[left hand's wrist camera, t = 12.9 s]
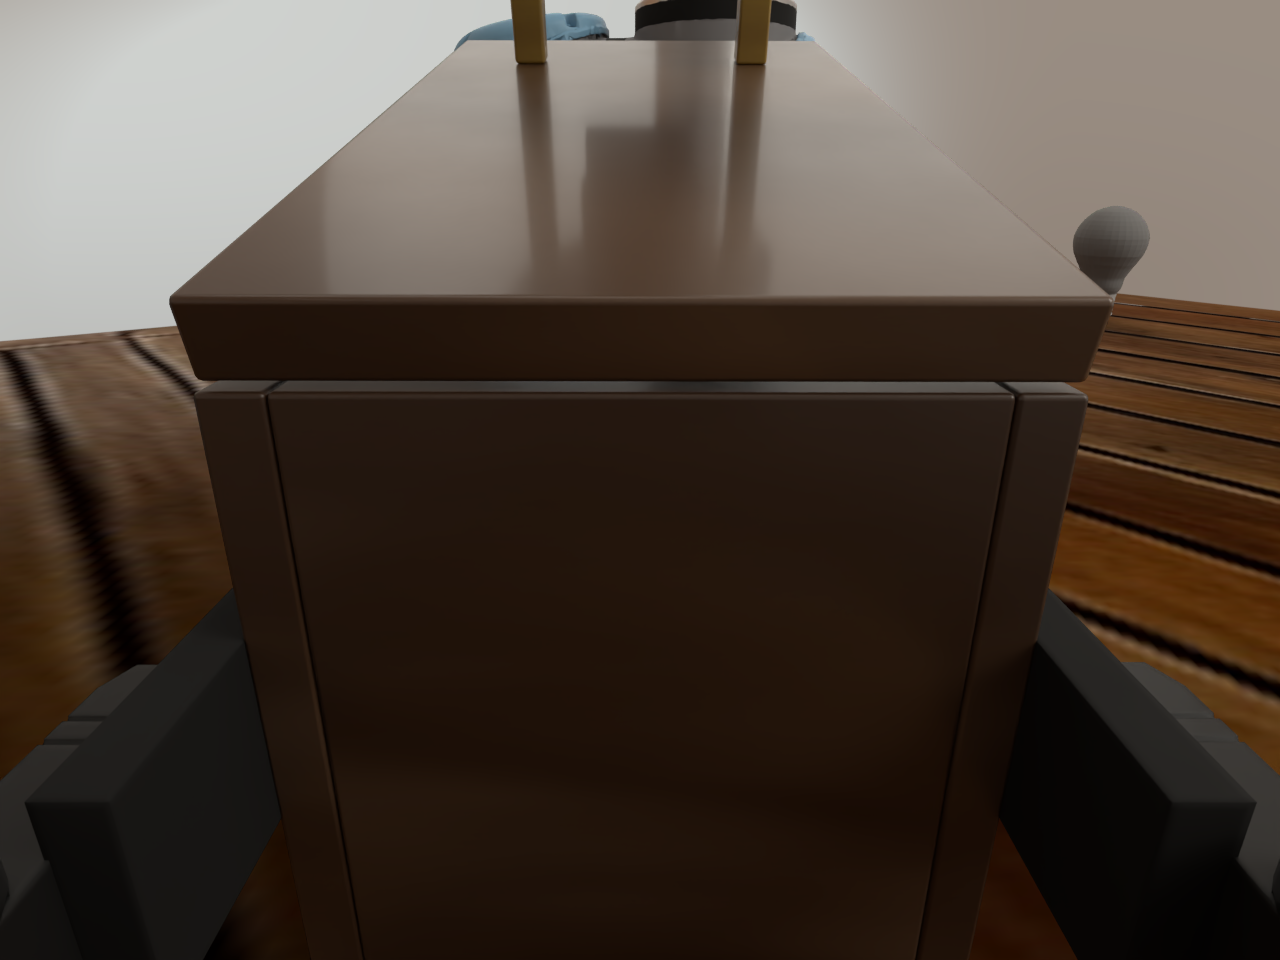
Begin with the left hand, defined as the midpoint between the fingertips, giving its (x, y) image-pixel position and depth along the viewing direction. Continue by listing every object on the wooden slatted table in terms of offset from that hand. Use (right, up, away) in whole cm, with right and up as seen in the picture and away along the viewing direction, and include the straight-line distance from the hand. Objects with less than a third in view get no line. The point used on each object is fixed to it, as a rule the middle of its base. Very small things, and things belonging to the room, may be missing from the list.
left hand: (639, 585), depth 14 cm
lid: (0, +8, +2) cm, 8 cm away
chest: (0, -5, +7) cm, 8 cm away
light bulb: (+43, +17, +62) cm, 77 cm away
